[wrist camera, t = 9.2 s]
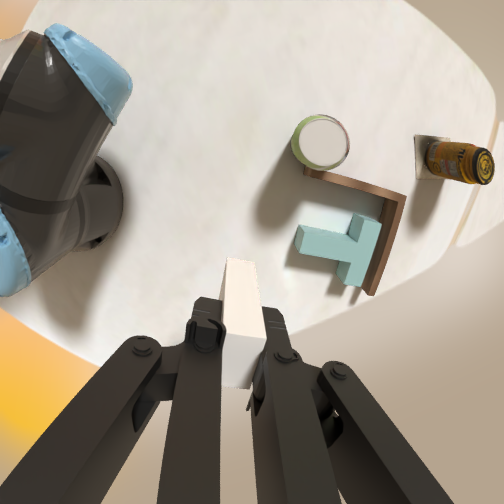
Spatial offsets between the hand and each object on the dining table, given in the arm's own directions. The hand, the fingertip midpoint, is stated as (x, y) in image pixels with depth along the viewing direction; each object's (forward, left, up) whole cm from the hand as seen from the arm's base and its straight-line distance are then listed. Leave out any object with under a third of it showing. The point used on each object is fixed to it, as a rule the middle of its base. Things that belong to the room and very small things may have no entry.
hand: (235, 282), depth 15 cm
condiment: (+30, +15, -25) cm, 42 cm away
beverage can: (+8, +10, -25) cm, 28 cm away
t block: (+15, -3, -25) cm, 29 cm away
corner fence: (+16, -1, -25) cm, 29 cm away
